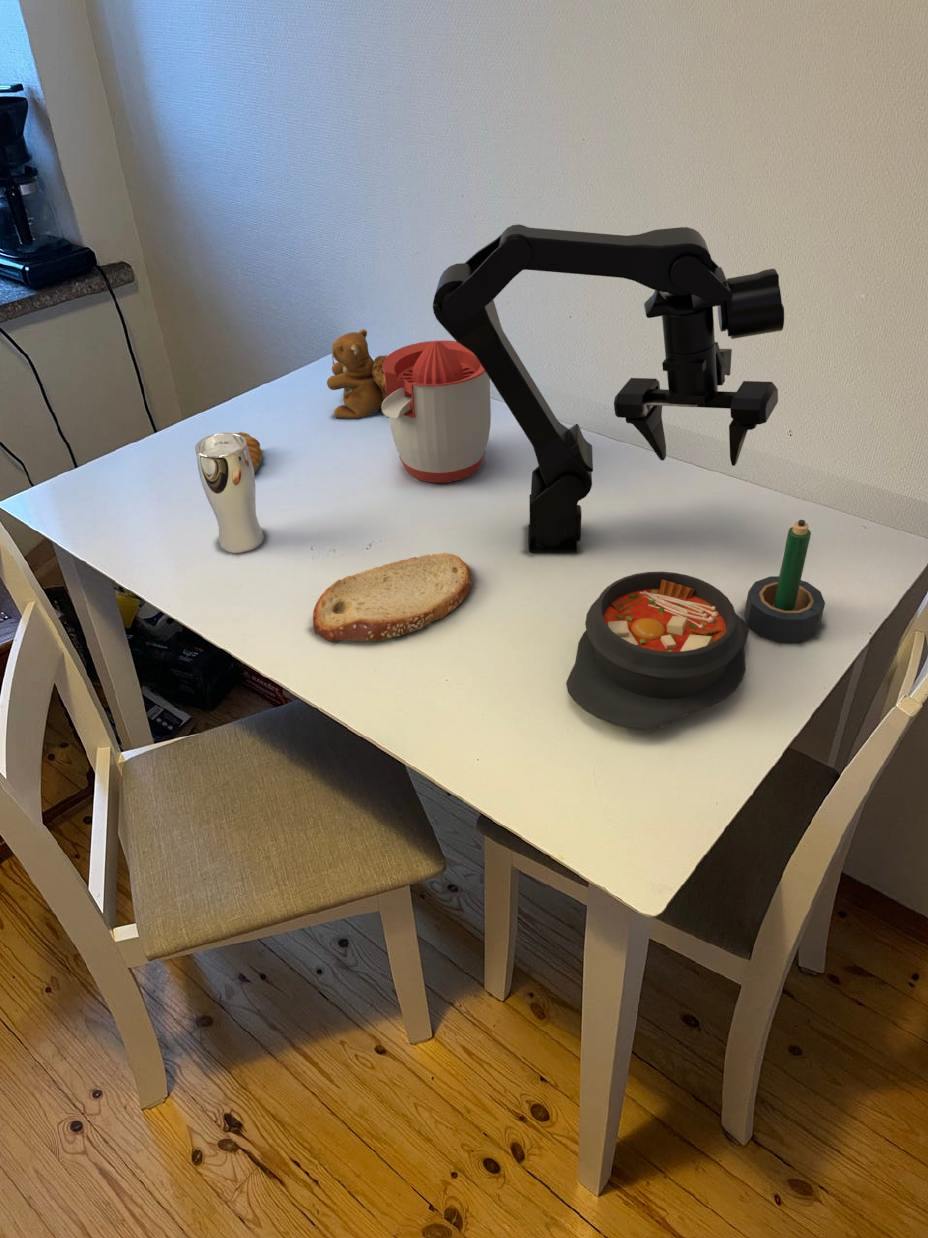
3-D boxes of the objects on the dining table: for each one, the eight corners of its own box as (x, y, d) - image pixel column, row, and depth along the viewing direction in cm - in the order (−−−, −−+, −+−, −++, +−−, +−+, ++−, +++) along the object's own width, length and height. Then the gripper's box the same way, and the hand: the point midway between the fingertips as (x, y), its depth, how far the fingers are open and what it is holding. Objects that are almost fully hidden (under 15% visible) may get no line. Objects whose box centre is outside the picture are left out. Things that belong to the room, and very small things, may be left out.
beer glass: (276, 533, 134) (258, 436, 125) (248, 559, 129) (226, 461, 120) (236, 523, 136) (214, 428, 127) (206, 548, 131) (182, 451, 122)
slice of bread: (478, 567, 125) (477, 543, 123) (449, 655, 112) (447, 630, 109) (347, 556, 129) (344, 532, 126) (303, 640, 115) (299, 615, 113)
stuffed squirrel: (344, 392, 169) (335, 319, 161) (420, 398, 166) (415, 324, 158) (323, 417, 162) (313, 342, 154) (402, 424, 158) (396, 348, 150)
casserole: (645, 587, 120) (651, 531, 115) (784, 644, 111) (797, 585, 105) (526, 694, 106) (526, 636, 101) (674, 771, 96) (682, 710, 91)
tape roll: (752, 642, 111) (756, 619, 109) (739, 599, 118) (743, 576, 116) (825, 643, 111) (831, 619, 108) (809, 599, 117) (814, 576, 115)
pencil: (768, 623, 114) (788, 524, 105) (772, 611, 115) (792, 513, 107) (790, 628, 113) (811, 528, 104) (793, 616, 115) (815, 517, 106)
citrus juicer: (363, 470, 147) (348, 345, 134) (447, 432, 156) (440, 311, 143) (429, 508, 137) (419, 377, 125) (515, 464, 146) (514, 338, 134)
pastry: (269, 475, 147) (264, 453, 144) (225, 484, 145) (219, 462, 143) (260, 448, 154) (255, 426, 151) (218, 456, 152) (212, 434, 150)
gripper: (789, 315, 112) (790, 434, 121) (639, 316, 121) (651, 426, 130) (762, 357, 105) (766, 479, 114) (605, 354, 114) (620, 468, 123)
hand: (698, 461), depth 121 cm, fingers open, 9 cm apart
